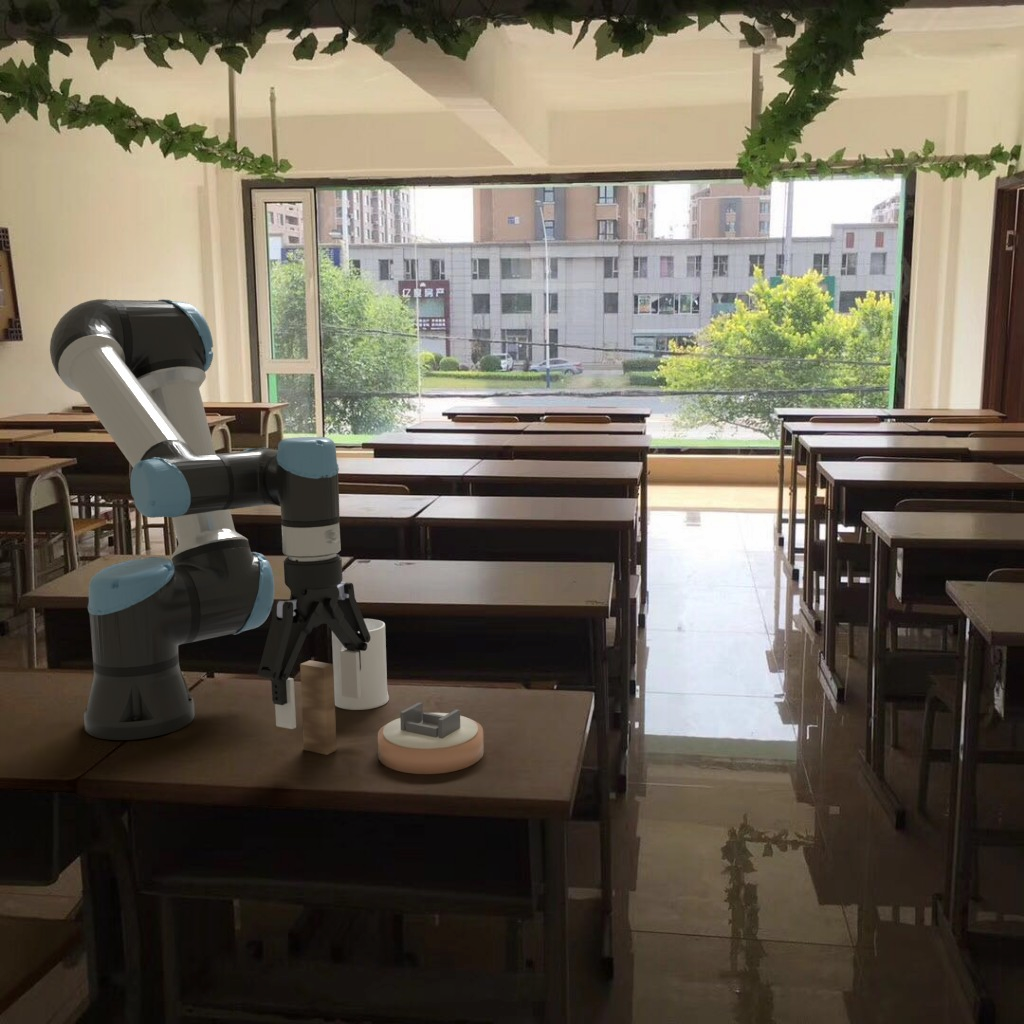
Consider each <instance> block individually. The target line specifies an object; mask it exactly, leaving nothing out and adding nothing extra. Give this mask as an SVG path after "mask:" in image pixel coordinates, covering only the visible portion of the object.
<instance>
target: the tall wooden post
mask: <svg viewBox="0 0 1024 1024" xmlns="http://www.w3.org/2000/svg"><path fill="white" fill-rule="evenodd" d="M299 667H300V668H299V669H300V671H299V672H300V692H301V693H300V695H301V715H302V716H301V717H302V718H301V719H302V737H303V738H302V740H303V750H304V751H309V752H312V753H317V754H322V755H326V756H327V755H330V754H332V753H333V752H336V751H337V731H336V730H337V729H336V728H337V727H336V724H337V723H336V706H335V696H334V669H333V663H328V662H323V661H316V660H310V659H309V660H307V661H304V662H302V663H300V664H299Z"/></svg>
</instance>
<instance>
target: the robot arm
mask: <svg viewBox="0 0 1024 1024" xmlns="http://www.w3.org/2000/svg"><path fill="white" fill-rule="evenodd" d="M210 329H211V328H210V326H209V325H208V322H207V320H206V319H205V317H204V315H203V314H202V312H201V311H200V310H199V309H198V308H197V307H196V306H194V305H192V304H190V303H189V302H186V301H185V302H184V301H177V300H175V301H173V300H171V299H158V300H136V299H135V300H131V299H130V300H129V299H128V300H127V299H108V298H107V299H104V298H103V299H101V298H100V299H91V300H88V301H84V302H81V303H79V304H77V305H75V306H74V307H72V308H71V309H69V310H68V311H67V312H66V313H65V314H63V315H62V317H61V318H60V319H59V320H58V322H57V324H56V325H55V327H54V329H53V331H52V334H51V337H50V341H49V342H50V343H49V352H50V353H49V354H50V360H51V363H52V366H53V368H54V371H55V372H56V374H57V375H58V377H59V379H60V380H61V381H62V383H63V384H64V385H65V386H66V387H67V388H68V389H70V390H72V391H74V392H77V393H79V394H80V395H81V397H82V398H83V399H84V401H85V402H86V403H87V405H88V406H89V408H90V409H91V411H92V413H94V415H95V416H96V418H97V419H98V420H99V422H100V423H101V425H102V426H103V427H104V429H105V430H106V432H107V433H108V435H109V436H110V438H112V440H113V442H114V443H115V444H116V446H117V447H118V448H119V450H120V451H121V453H122V454H123V455H124V457H125V459H126V460H127V461H128V463H129V464H130V465H131V468H132V469H131V474H130V479H129V480H130V483H129V484H130V492H131V493H130V494H131V497H132V498H133V501H134V506H135V508H136V509H137V511H138V512H139V514H141V515H143V516H144V517H147V518H149V519H150V518H151V519H152V518H165V517H166V518H171V519H172V523H173V527H174V529H175V530H174V531H175V535H176V539H177V542H178V543H177V544H178V545H177V547H176V549H175V550H174V552H173V553H172V555H171V557H170V558H171V559H169V558H166V557H162V556H161V557H160V556H150V557H146V558H135V559H129V560H124V561H122V562H118V563H115V564H112V565H109V566H107V567H105V568H103V569H101V570H99V571H98V572H96V573H95V574H94V575H92V577H91V579H90V581H89V583H88V604H87V611H88V614H89V624H90V625H89V627H90V637H91V638H90V639H91V648H92V649H91V651H92V661H93V662H92V665H93V679H92V683H91V684H92V685H91V687H90V690H89V692H90V693H89V697H88V702H87V706H86V708H85V711H84V713H83V720H84V731H85V732H86V733H87V734H88V735H90V736H92V737H94V738H97V739H102V740H110V741H111V740H112V741H132V740H133V741H134V740H142V739H149V738H155V737H158V736H159V737H160V736H163V735H166V734H169V733H173V732H176V731H178V730H180V729H182V728H184V727H186V726H188V725H190V723H192V721H193V720H194V719H195V715H196V714H195V701H194V698H193V696H192V695H191V694H190V689H189V688H188V685H187V682H186V679H185V677H184V675H183V673H182V670H181V668H180V662H179V661H180V660H179V646H180V645H184V644H189V643H194V642H200V641H203V640H208V639H213V638H218V637H223V636H227V635H239V634H240V633H243V632H245V631H250V630H254V629H256V628H259V627H260V626H261V625H263V624H264V623H265V622H266V620H267V619H268V617H269V615H270V613H272V617H271V622H270V625H269V629H268V633H267V637H266V641H265V645H264V648H263V653H262V656H261V661H260V662H259V663H260V664H259V668H258V671H257V675H258V677H259V678H263V679H269V680H270V682H271V697H272V698H271V699H272V704H274V708H275V709H274V711H275V725H276V727H279V728H284V729H289V730H293V729H296V728H297V719H296V718H297V717H296V716H297V714H296V697H295V682H294V681H295V680H294V678H295V677H294V678H293V677H290V675H291V672H292V670H293V668H294V665H295V663H296V661H297V659H298V656H299V654H300V652H301V650H302V647H303V646H304V643H305V641H306V638H307V636H308V635H309V634H311V633H312V631H313V629H314V628H317V627H319V626H321V625H322V624H325V625H327V626H328V628H330V629H329V630H331V632H332V631H333V633H334V634H335V635H336V637H337V638H338V639H339V641H340V642H341V643H342V645H343V646H344V647H345V648H347V650H341V651H340V659H341V680H342V696H345V697H351V698H356V699H358V698H360V697H361V686H360V670H361V661H360V660H361V655H360V650H361V651H365V650H366V649H367V643H368V642H369V641H370V634H369V632H368V629H367V627H366V624H365V622H364V619H365V618H364V616H363V614H362V612H361V609H360V607H359V604H358V602H357V599H356V595H355V587H354V584H353V583H352V582H347V581H343V559H342V557H341V556H340V554H338V553H339V552H340V551H341V550H342V549H341V548H342V547H341V545H342V543H341V529H340V492H339V491H340V490H339V489H340V485H339V470H340V468H339V464H338V459H337V450H336V448H337V447H336V444H335V442H334V441H333V439H331V438H330V437H323V436H318V437H317V436H304V437H303V436H297V437H288V438H283V439H282V440H280V441H279V442H278V444H277V449H270V448H269V447H263V446H262V447H255V448H253V447H252V448H247V449H244V450H242V451H236V452H225V453H216V451H215V446H214V442H213V438H212V434H211V430H210V426H209V422H208V419H207V414H206V411H205V407H204V403H203V399H202V395H201V392H200V388H201V386H202V385H203V383H204V382H205V380H206V379H207V374H206V372H207V371H208V370H210V367H211V365H212V362H213V358H214V351H212V348H213V347H214V343H213V342H214V341H213V337H212V333H211V330H210ZM260 506H261V507H262V506H276V507H280V515H281V516H280V517H281V539H282V540H281V543H282V544H281V545H282V553H283V555H285V556H286V558H284V559H283V573H284V574H283V575H284V576H283V577H284V584H285V586H286V588H288V589H289V590H290V596H289V600H285V601H284V600H279V599H278V600H277V599H276V600H274V599H275V578H274V572H273V569H272V566H271V564H270V562H269V560H267V558H266V556H265V555H264V554H262V553H259V552H256V551H251V547H250V543H249V539H248V538H247V537H245V536H243V535H242V534H240V533H239V532H237V531H236V529H235V525H234V521H233V517H232V516H233V515H232V512H231V510H237V509H245V508H255V507H260ZM358 631H359V632H360V633H358ZM365 642H366V643H365Z"/></svg>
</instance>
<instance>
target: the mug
mask: <svg viewBox="0 0 1024 1024" xmlns="http://www.w3.org/2000/svg"><path fill="white" fill-rule="evenodd" d="M363 619H364V622H365V624H366V627H367V629H368V632H369V634H370V641H369V642H368V643H367V649H366V650H365V651H361V650H360V655H361V660H360V661H361V670H360V686H361V697H360V698H358V699H356V698H351V697H345V696H342V680H341V659H340V651H341V650H347V648H345V647H344V646H343V645H342V643H341V642H340V641H339V639H338V638H337V637H336V635H335V634H334V633H333V631H332V630H331V646H332V664H333V669H334V696H335V707H336V708H339V709H343V710H350V711H363V710H364V711H365V710H371V709H377V708H379V707H382V706H384V705H386V704H387V703H388V702H389V700H390V696H389V692H388V678H387V677H388V675H387V672H388V671H387V647H386V645H387V644H386V643H387V642H386V641H387V639H386V637H387V636H386V623H385V622H384V621H382V620H379V619H375V618H374V619H373V618H363ZM358 633H360V632H359V631H358ZM365 643H366V642H365Z"/></svg>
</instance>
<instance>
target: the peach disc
mask: <svg viewBox="0 0 1024 1024" xmlns="http://www.w3.org/2000/svg"><path fill="white" fill-rule="evenodd" d="M423 709H424V704H423V702H417V703H415V704H413V705H411V706H409V707H406V708H405V709H404V710H401V711H399V712H400V714H399V716H400V717H399V718H396V719H393V720H391V721H389V722H388V723H386V724H384V725H383V726H382V727H380V728H379V730H378V732H377V750H378V753H377V755H378V756H377V757H378V760H379V761H380V763H381V764H382V765H384V766H385V767H386V768H389V769H391V770H393V771H397V772H401V773H406V774H414V775H437V774H447V773H451V772H457V771H459V770H460V771H461V770H463V769H466V768H469V767H472V766H473V765H475V764H476V763H478V762H479V761H480V760H481V759H482V758H483V756H484V729H483V726H482V725H481V724H480V723H479V722H477V721H475V720H473V719H472V718H469V717H466V716H463V715H461V709H457V708H455V709H454V710H451V711H450V712H447V713H446V712H425V711H424V710H423ZM423 711H424V712H423Z"/></svg>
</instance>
